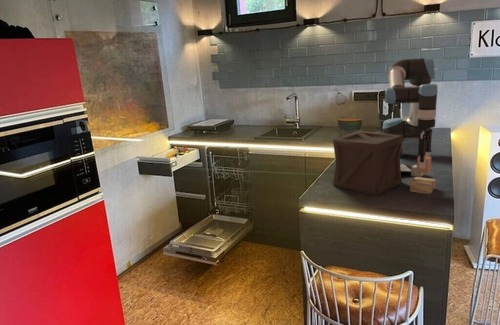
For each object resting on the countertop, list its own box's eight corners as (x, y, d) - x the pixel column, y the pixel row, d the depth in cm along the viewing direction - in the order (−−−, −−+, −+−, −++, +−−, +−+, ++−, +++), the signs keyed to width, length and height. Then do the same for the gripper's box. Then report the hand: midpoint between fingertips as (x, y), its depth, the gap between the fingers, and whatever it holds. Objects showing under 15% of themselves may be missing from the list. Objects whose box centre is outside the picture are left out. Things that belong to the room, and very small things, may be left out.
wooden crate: (359, 174, 215) (358, 130, 208) (402, 182, 197) (403, 134, 190) (333, 186, 199) (332, 139, 192) (377, 196, 181) (378, 144, 174)
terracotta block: (419, 169, 185) (420, 155, 184) (430, 170, 182) (431, 156, 181) (416, 171, 182) (417, 157, 180) (427, 173, 179) (428, 159, 177)
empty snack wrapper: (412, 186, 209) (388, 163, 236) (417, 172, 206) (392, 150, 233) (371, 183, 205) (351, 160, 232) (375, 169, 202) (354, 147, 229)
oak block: (415, 186, 191) (415, 176, 190) (434, 189, 185) (435, 179, 184) (409, 191, 184) (410, 181, 183) (429, 194, 179) (430, 184, 177)
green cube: (413, 173, 210) (414, 164, 208) (423, 174, 207) (424, 165, 205) (411, 175, 206) (411, 167, 204) (421, 177, 203) (421, 168, 201)
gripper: (423, 115, 184) (420, 161, 190) (412, 121, 171) (409, 170, 177) (440, 115, 180) (437, 163, 186) (429, 122, 166) (426, 172, 172)
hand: (423, 166), depth 181 cm, fingers closed on terracotta block, 5 cm apart
